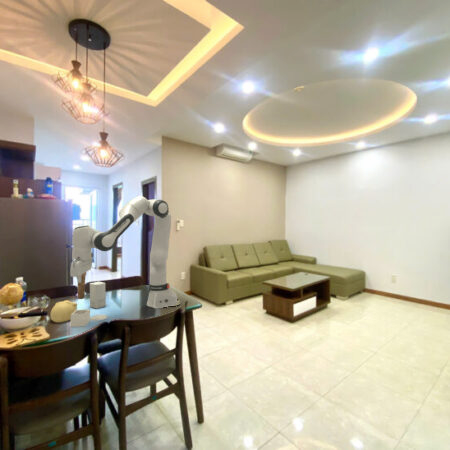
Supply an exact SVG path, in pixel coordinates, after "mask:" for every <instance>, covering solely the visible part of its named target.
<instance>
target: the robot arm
mask: <svg viewBox="0 0 450 450" xmlns="http://www.w3.org/2000/svg"><path fill="white" fill-rule="evenodd" d="M169 210H170V209H169V204H168V203H167V201H165V200H163V199H158V198H157V199H155V198H154V199H153V198H152V199H147V198H146V197H144V196H143V195H137V196H136V197H134V198H133V199H130V201H128V202H127V203H126V204H124V205H123V206H122V207H121V209H120V210H119V213H118V216H119V219H118V221H117V222H116V223H114V224H113V225H112V227H111V228H109V229H108V230H107V231H100V230H99V229H98V230H97V229H95V228H93V227H91V225H80V226H77V227H75V228H74V229H73V231H72V238H71V239H72V240H71V243H72V251H71V253H72V254H71V260H72V261H71V263H70V273H69V275H70V277H71V278H72V277H73V278H76V281H77V284H78V283H81V282H82V279H81V276H82V274H83V273H85V278H86V276H87V272H89V271H91V270H92V267H93V258H94V252H92V249H96V250H99V251H101V252H109V251H111V250H112V249H114V247H116V244H117V242H118V240H119V238H120V237H121V236H122V235H123V234H124V233H125V232H126V231H127V230H128V228H130V226H132V224H133V223H134V222H136V221H137V220H138V219H139V218H140V217H142V216H143V215H146V216H150V217H154V224H153V225H154V226H153V233H152V240H151V241H152V242H151V247H150V248H151V249H150V250H151V251H150V252H149V283H148V298H147V302H146V306H147V307H149V308H153V309H156V310H157V309H158V310H159V309H164V308H163V307H167V308H169V307H168V306H174V305H175V304H177V302H178V301H177V299H178V296H177V293H176V292H175V291H173V290H172V289H171V288H170V287H171V286H170V283H167V261H168V257H169V247H170V245H169V244H170V235H171V227H172V215H171V214H170V213H169Z"/></svg>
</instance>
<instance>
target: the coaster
mask: <svg viewBox="0 0 450 450" xmlns="http://www.w3.org/2000/svg"><path fill="white" fill-rule="evenodd" d="M106 319H108V315H107V314H97V315H93V316H90V321H93V322H99V321H103V320H106Z"/></svg>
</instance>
